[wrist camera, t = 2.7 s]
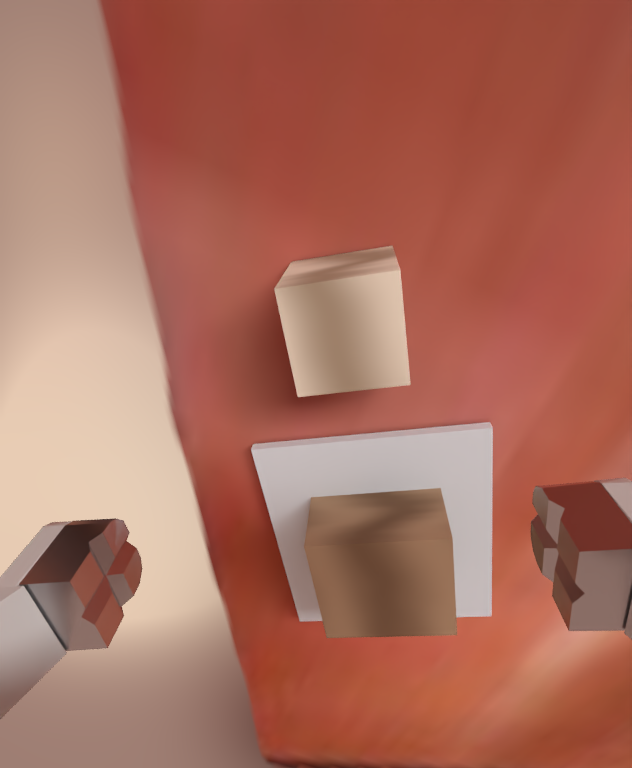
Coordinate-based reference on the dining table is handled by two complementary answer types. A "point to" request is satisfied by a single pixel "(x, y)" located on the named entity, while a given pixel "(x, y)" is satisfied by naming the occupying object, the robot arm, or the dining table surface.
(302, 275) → the ash cube
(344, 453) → the white flat slab
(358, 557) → the walnut base
